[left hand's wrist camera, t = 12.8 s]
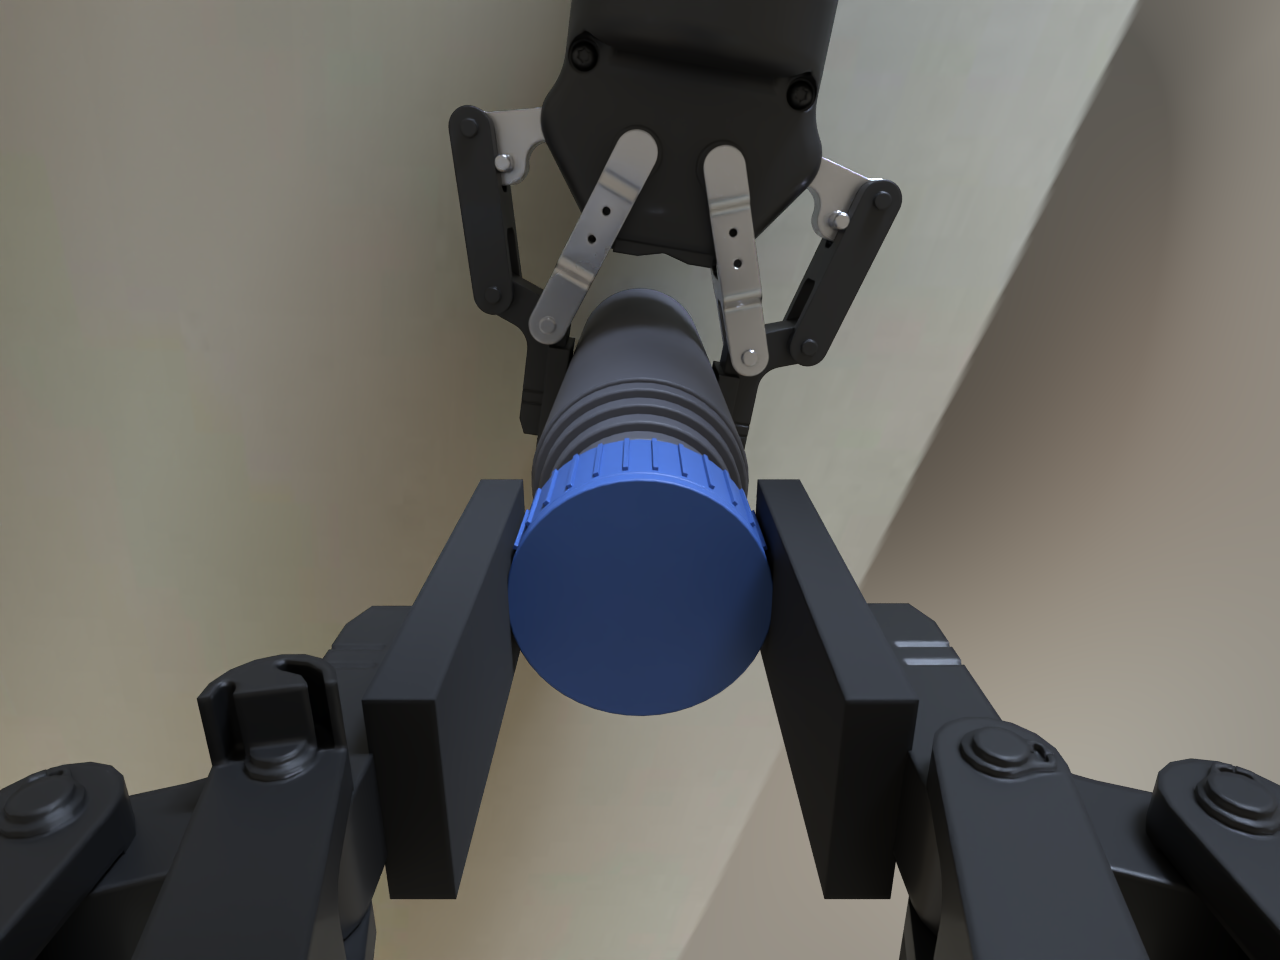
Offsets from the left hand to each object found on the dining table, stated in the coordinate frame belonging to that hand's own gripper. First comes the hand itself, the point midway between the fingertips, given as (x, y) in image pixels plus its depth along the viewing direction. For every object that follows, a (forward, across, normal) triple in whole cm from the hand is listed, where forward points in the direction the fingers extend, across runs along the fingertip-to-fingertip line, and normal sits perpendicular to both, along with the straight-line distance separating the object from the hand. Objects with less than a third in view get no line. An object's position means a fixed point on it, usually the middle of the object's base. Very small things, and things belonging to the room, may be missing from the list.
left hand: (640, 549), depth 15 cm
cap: (-2, 0, 0) cm, 2 cm away
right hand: (+13, 0, -3) cm, 13 cm away
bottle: (+19, 0, 0) cm, 19 cm away
